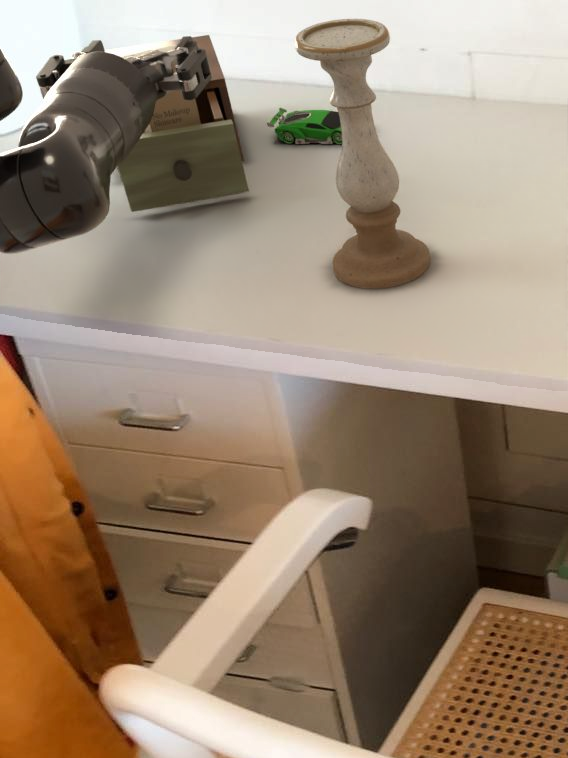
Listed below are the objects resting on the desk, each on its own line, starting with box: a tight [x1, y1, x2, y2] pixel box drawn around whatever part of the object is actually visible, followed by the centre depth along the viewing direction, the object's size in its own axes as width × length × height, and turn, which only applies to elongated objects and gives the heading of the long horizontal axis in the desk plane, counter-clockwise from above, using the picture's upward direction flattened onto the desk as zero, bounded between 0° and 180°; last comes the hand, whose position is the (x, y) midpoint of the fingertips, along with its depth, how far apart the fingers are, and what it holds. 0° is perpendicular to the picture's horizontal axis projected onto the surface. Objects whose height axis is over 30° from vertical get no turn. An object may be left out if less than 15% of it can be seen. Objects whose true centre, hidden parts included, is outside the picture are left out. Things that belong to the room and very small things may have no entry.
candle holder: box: [294, 18, 431, 289], centre depth 111 cm, size 9×9×20 cm
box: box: [123, 46, 201, 134], centre depth 127 cm, size 5×4×11 cm
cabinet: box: [104, 34, 245, 182], centre depth 138 cm, size 15×13×9 cm
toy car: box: [266, 107, 342, 145], centre depth 140 cm, size 10×5×2 cm, turn 82°
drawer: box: [117, 88, 250, 213], centre depth 130 cm, size 15×11×7 cm
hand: (145, 48), depth 122 cm, fingers open, 8 cm apart
